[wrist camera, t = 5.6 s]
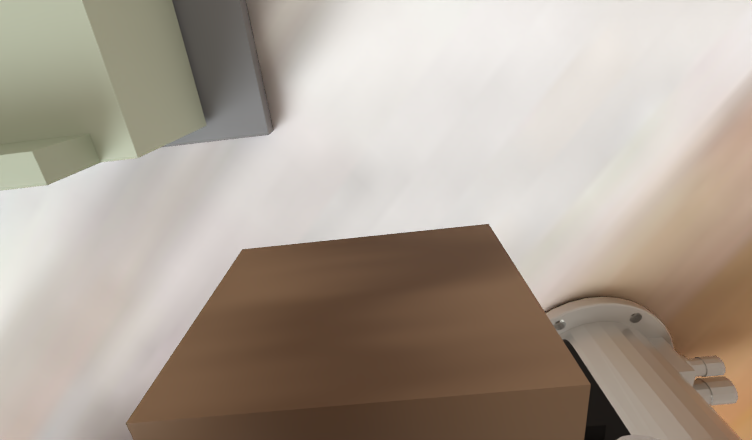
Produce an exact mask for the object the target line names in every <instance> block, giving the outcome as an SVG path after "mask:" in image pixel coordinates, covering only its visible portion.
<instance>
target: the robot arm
mask: <svg viewBox="0 0 752 440" xmlns="http://www.w3.org/2000/svg"><path fill="white" fill-rule="evenodd" d="M546 315H547V317H548V318H549V320H550V321H551V323H552V324H553V326H554V328H555V329H556V331H557V332H558V334H559V335H560V337H561V338H562V340H563V342H564V343H565V345H566V346H567V348H568V349H569V351H570V353H571V354H572V356H573V357H574V359H575V360H576V362H577V364H578V365H579V367H580V368H581V370H582V371H583V373H584V375H585V376H586V378H587V379H588V381H589V382H590V384H591V387H590V395H589V403H588V412H587V420H586V428H585V436H584V440H742V439H741V438H740V437H739V436H738V435H737V434H736V433H735V432H734V431H733V430H732V428H731V427H730V426H729V425H728V424H727V423H726V422H725V421H724V420H723V419H722V418H721V417H720V416H719V415H718V414H717V412H716V411H715V410H714V409H713V408H712V407H711V406H712V405H723V404H733V403H736V401H737V399H738V395H737V391H736V388H735V386H734V385H733V383H732V382H731V381H730V380H729V379H727V378H726V377H723V376H718V375H724V373H725V365H724V363H723V361H722V360H721V359H720V358H719V357H717V356H705V357H695V358H693V359H687V358H685V357H684V356H681V355H679V354H678V353H677V352H676V351H675V350H674V346H673V341H672V337H671V335H670V333H669V332H668V330H667V328H666V326H665V325H664V324H663V323H662V322H661V321H660V320H659V319H658V318H657V317H656V316H655V315H654V314H653V313H651V312H650V311H649V310H648V309H646V308H645V307H643V306H641V305H639V304H637V303H635V302H633V301H629V300H625V299H621V298H614V297H594V298H585V299H581V300H577V301H573V302H569V303H566V304H564V305H562V306H559V307H557V308H554V309H552V310H551V311H549V312H547V313H546ZM695 376H702V377H706V378H697V379H696V380H695ZM707 376H718V377H707Z"/></svg>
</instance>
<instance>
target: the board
mask: <svg viewBox="0 0 752 440" xmlns="http://www.w3.org/2000/svg"><path fill="white" fill-rule="evenodd" d="M172 2H173V5H174V9H175V13H176V16H177V20H178V23H179V27H180V31H181V34H182V38H183V42H184V45H185V49H186V52H187V56H188V60H189V63H190V67H191V70H192V74H193V78H194V81H195V85H196V88H197V92H198V96H199V99H200V103H201V106H202V110H203V114H204V117H205V121H206V124H207V126H204V127H202V128H200V129H198V130H196V131H194V132H192V133H190V134H188V135H185V136H183V137H181V138H179V139H177V140H175V141H173V142H171V143H169V144H167V145H164V146H162V147H168V146H176V145H185V144H193V143H202V142H211V141H219V140H228V139H236V138H245V137H253V136H262V135H269V134H270V133H271V132H273V127H272V122H271V117H270V113H269V108H268V103H267V99H266V94H265V89H264V85H263V80H262V75H261V71H260V66H259V61H258V57H257V52H256V47H255V43H254V38H253V33H252V29H251V24H250V19H249V15H248V10H247V5H246V1H245V0H172Z"/></svg>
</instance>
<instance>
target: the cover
mask: <svg viewBox="0 0 752 440" xmlns="http://www.w3.org/2000/svg"><path fill="white" fill-rule="evenodd" d="M204 126H207V124H206V121H205V117H204V114H203V110H202V106H201V103H200V99H199V96H198V92H197V88H196V85H195V81H194V78H193V74H192V70H191V67H190V63H189V60H188V56H187V52H186V49H185V45H184V42H183V38H182V34H181V31H180V27H179V23H178V20H177V16H176V13H175V9H174V5H173V2H172V0H0V190H9V189H18V188H26V187H35V186H44V185H49V184H51V183H53V182H56V181H58V180H60V179H63V178H65V177H68V176H70V175H72V174H75V173H77V172H79V171H82V170H84V169H86V168H89V167H91V166H93V165H96V164H98V163H100V162H108V161H117V160H125V159H134V158H139V157H141V156H143V155H145V154H148V153H150V152H152V151H154V150H156V149H158V148H160V147H162V146H164V145H167V144H169V143H171V142H173V141H175V140H177V139H179V138H181V137H183V136H185V135H188V134H190V133H192V132H194V131H196V130H198V129H200V128H202V127H204Z"/></svg>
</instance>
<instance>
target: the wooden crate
mask: <svg viewBox="0 0 752 440" xmlns="http://www.w3.org/2000/svg"><path fill="white" fill-rule="evenodd" d="M590 387H591V384H590V382H589V381H588V379H587V378H586V376H585V375H584V373H583V371H582V370H581V368H580V367H579V365H578V364H577V362H576V360H575V359H574V357H573V356H572V354H571V353H570V351H569V349H568V348H567V346H566V345H565V343H564V342H563V340H562V338H561V337H560V335H559V334H558V332H557V331H556V329H555V328H554V326H553V324H552V323H551V321H550V320H549V318H548V317H547V315H546V313H545V312H544V310H543V309H542V307H541V306H540V304H539V302H538V301H537V299H536V298H535V296H534V295H533V293H532V291H531V290H530V288H529V287H528V285H527V284H526V282H525V281H524V279H523V277H522V276H521V274H520V273H519V271H518V270H517V268H516V266H515V265H514V263H513V262H512V260H511V259H510V257H509V255H508V254H507V252H506V251H505V249H504V248H503V246H502V244H501V243H500V241H499V240H498V238H497V237H496V235H495V233H494V232H493V230H492V229H491V227H490V226H489V224H484V225H475V226H465V227H455V228H446V229H436V230H426V231H416V232H407V233H397V234H387V235H378V236H368V237H358V238H349V239H339V240H329V241H320V242H310V243H300V244H291V245H281V246H271V247H262V248H252V249H242V251H241V252H240V254H239V255H238V257H237V258H236V260H235V261H234V263H233V264H232V266H231V267H230V269H229V270H228V272H227V273H226V275H225V276H224V278H223V279H222V281H221V282H220V284H219V285H218V287H217V288H216V290H215V291H214V293H213V294H212V296H211V297H210V299H209V300H208V302H207V303H206V305H205V306H204V308H203V309H202V311H201V312H200V314H199V315H198V317H197V318H196V319H195V321H194V322H193V324H192V325H191V327H190V328H189V330H188V331H187V333H186V334H185V336H184V337H183V339H182V340H181V342H180V343H179V345H178V346H177V348H176V349H175V351H174V352H173V354H172V355H171V357H170V358H169V360H168V361H167V363H166V364H165V366H164V367H163V369H162V370H161V372H160V373H159V375H158V376H157V378H156V379H155V381H154V382H153V384H152V385H151V387H150V388H149V390H148V391H147V393H146V394H145V396H144V397H143V399H142V400H141V402H140V403H139V405H138V406H137V408H136V409H135V411H134V412H133V414H132V415H131V417H130V418H129V420H128V421H127V423H126V425H127V427H128V429H129V431H130V433H131V435H132V437H133V439H134V440H584V436H585V428H586V420H587V412H588V403H589V395H590Z"/></svg>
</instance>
